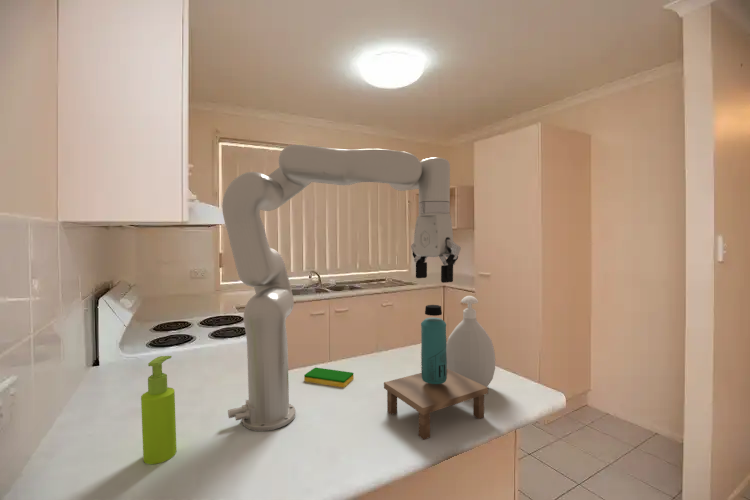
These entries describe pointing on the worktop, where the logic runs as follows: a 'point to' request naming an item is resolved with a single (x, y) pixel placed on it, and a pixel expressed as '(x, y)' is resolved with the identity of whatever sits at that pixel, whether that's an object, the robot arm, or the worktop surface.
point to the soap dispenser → (158, 416)
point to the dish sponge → (329, 377)
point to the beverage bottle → (433, 347)
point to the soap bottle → (471, 348)
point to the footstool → (434, 396)
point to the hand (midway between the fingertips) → (433, 279)
